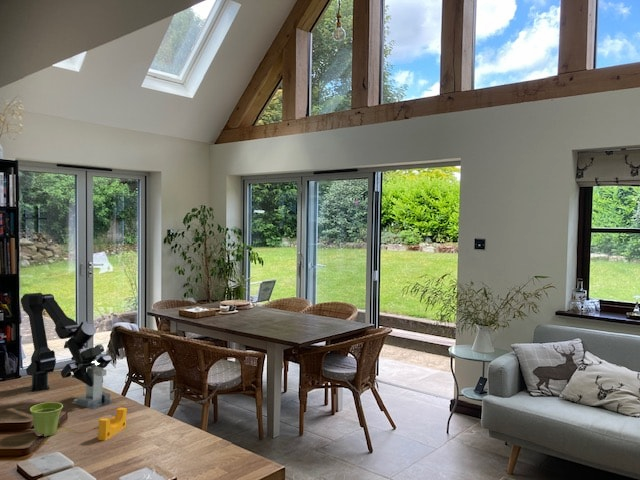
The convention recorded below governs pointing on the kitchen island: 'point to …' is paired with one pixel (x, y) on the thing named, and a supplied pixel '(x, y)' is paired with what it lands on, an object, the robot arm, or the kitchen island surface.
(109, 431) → the pipe clamp
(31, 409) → the plant pot
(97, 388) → the grey upright block
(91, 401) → the vise
